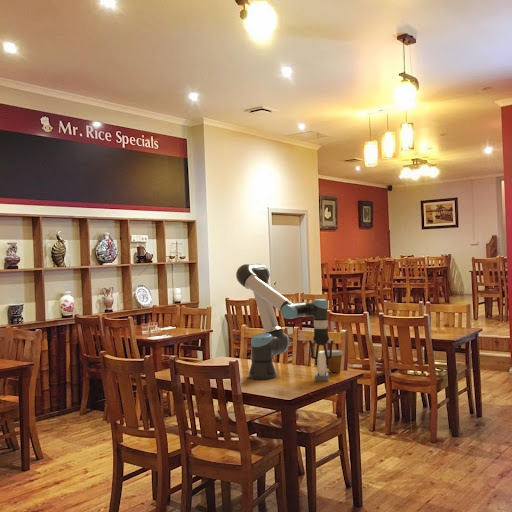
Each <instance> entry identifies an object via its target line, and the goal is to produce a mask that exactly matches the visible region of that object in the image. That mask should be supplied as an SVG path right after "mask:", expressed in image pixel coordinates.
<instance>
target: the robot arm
mask: <svg viewBox="0 0 512 512" xmlns="http://www.w3.org/2000/svg"><path fill="white" fill-rule="evenodd" d="M270 275H271V274H270V271H269V268H268V267H267V266H266V265H263V264H261V263H255V264H254V263H252V264H250V263H249V264H247V263H246V264H242V265H241V266H239V267H238V268H237V270H236V274H235V276H236V277H235V278H236V280H237V282H238V283H239V285H241V286H242V287H244V288H245V289H247V290H251V291H252V292H253V295H254V299H255V302H256V306H257V309H258V313H259V317H260V320H261V323H262V327H263V330H264V331H263V333H262V332H261V333H256V334H254V335H252V336H251V339H250V341H251V342H250V348H251V349H250V350H251V365H250V368H249V371H248V378H249V379H253V380H270V379H275V378H277V371H276V369H275V366H274V361H273V359H274V358H273V356H276V355H280V354H283V353H285V352H287V350H288V349H289V347H290V338H289V335H288V334H286V333H285V332H284V331H283V328H282V327H280V325H279V322H278V319H277V316H276V313H275V309H277V310H278V311H279V312H280V314H281V316H282V318H284V319H286V320H287V319H288V320H292V319H296V318H297V319H298V318H302V317H313V327H314V329H313V338H312V339H309V341H308V343H309V345H310V353H311V354H310V355H311V359H314V362H315V363H314V364H315V365H314V366H316V367H317V370H316V372H319V370H318V355H319V351H320V346H323V351H325V372H326V371H328V370H327V369H328V368H327V367H328V359H330V358H332V350H333V344H334V339H331V338H330V337H329V325H328V324H329V321H328V308H329V307H328V301H327V299H326V298H316V299H313V302H303V301H301V302H296V303H293V301H291V300H289V299H288V298H286V297H285V296H283V295H282V294H281V293H279V292H278V291H276V290H275V289H274V288H272V287H271V286H270V285H269V283H270V282H269V280H270V278H271V276H270ZM274 308H275V309H274ZM314 343H315V344H316V349H315V351H314ZM327 343H329V350H330V352H329V356H328V353H327V350H328V349H327V348H328V347H327Z"/></svg>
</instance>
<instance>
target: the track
mask: <svg viewBox="0 0 512 512" xmlns="http://www.w3.org/2000/svg"><path fill="white" fill-rule="evenodd" d="M329 375H330V372H329V370H327V371H326V373H325V376H319V372H317V371H316V372H315V376H314V382H329V380H330V376H329Z"/></svg>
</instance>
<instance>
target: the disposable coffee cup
mask: <svg viewBox="0 0 512 512" xmlns="http://www.w3.org/2000/svg"><path fill="white" fill-rule="evenodd" d="M329 352H330V349H327V353H328V356H329ZM342 357H343V351H342V350H341V349H332V358H330V359H328V365H327V367H328V368H327V369H328V371H330V372H339V373H341V367H342ZM330 372H329V373H330Z"/></svg>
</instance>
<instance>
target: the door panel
mask: <svg viewBox="0 0 512 512" xmlns="http://www.w3.org/2000/svg"><path fill="white" fill-rule="evenodd" d="M317 359H318V370H319V376H325V373H326V372H325V359H326V356H325V351H324V350H319V351H318V358H317Z"/></svg>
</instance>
